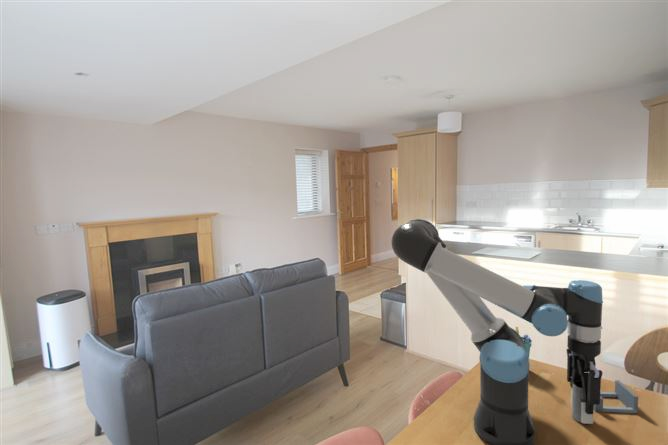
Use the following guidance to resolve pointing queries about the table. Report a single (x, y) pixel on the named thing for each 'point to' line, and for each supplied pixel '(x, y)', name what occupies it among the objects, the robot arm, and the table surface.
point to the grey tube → (577, 400)
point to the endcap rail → (623, 395)
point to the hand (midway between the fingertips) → (581, 416)
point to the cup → (526, 342)
